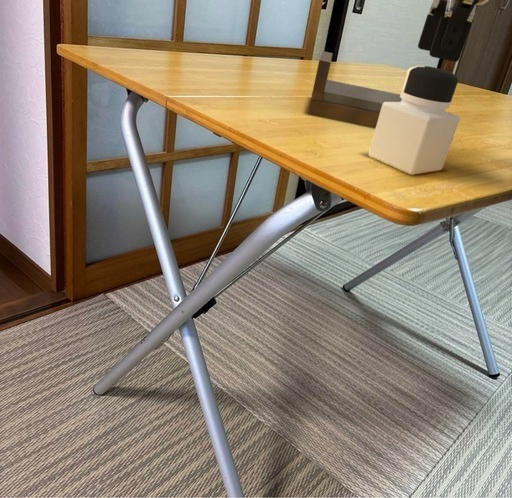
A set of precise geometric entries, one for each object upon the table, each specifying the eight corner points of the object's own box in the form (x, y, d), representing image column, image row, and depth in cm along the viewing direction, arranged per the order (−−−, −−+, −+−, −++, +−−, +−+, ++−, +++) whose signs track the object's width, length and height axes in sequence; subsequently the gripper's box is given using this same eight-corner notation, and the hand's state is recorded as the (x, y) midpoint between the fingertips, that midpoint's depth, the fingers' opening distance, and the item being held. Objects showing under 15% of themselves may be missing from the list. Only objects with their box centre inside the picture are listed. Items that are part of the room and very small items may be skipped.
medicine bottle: (442, 170, 67) (476, 76, 61) (411, 176, 63) (444, 74, 57) (398, 152, 72) (426, 63, 66) (366, 156, 67) (393, 60, 62)
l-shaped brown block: (397, 116, 94) (411, 69, 90) (405, 135, 82) (422, 80, 78) (312, 99, 95) (322, 51, 91) (307, 114, 83) (319, 59, 79)
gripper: (561, -131, 45) (485, 70, 53) (505, -98, 60) (453, 54, 68) (476, -147, 45) (413, 55, 53) (442, -110, 61) (397, 42, 69)
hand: (435, 54), depth 61 cm, fingers open, 9 cm apart
